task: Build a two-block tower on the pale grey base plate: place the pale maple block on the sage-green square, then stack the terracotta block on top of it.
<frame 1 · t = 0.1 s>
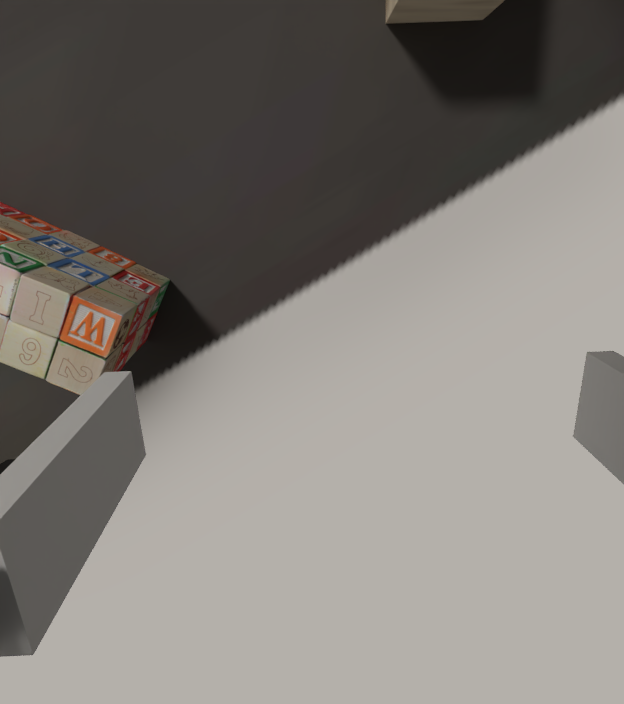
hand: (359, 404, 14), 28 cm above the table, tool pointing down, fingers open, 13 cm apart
stack of blocks: (38, 255, 40), on the table
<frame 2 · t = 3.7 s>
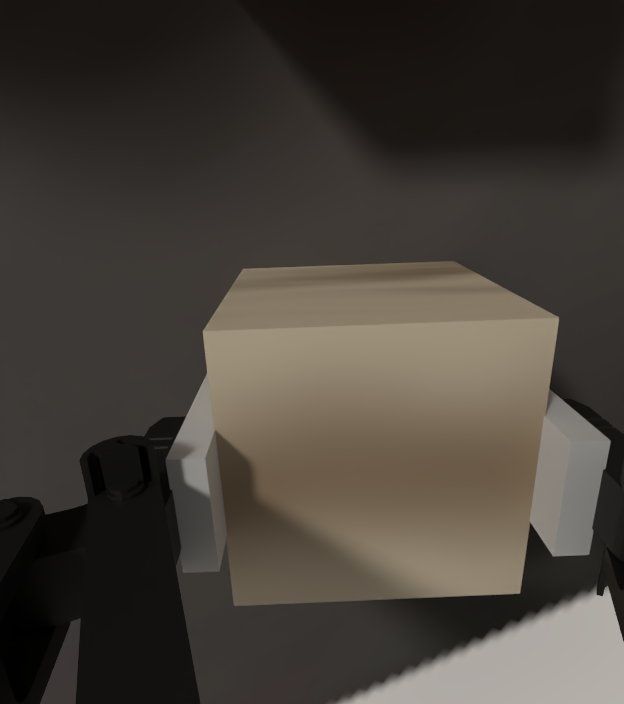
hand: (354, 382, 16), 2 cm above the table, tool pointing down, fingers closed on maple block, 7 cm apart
maple block: (349, 363, 17), on the table, touching gripper
when the fingers open (5 cm above the table, at t = 10.8 s): maple block drops 1 cm, resting on base plate.
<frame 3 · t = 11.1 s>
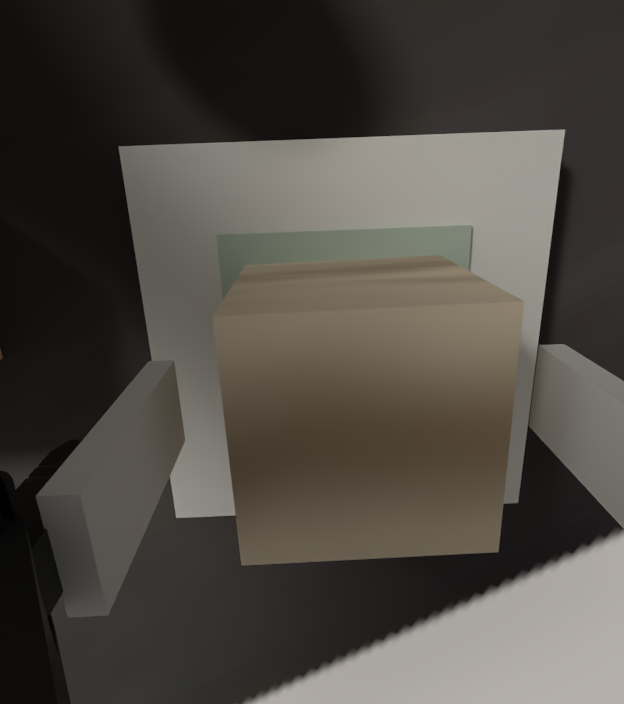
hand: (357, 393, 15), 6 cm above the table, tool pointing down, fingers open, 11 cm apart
base plate: (341, 333, 21), on the table
maple block: (345, 351, 19), point 2 cm above the table, touching base plate
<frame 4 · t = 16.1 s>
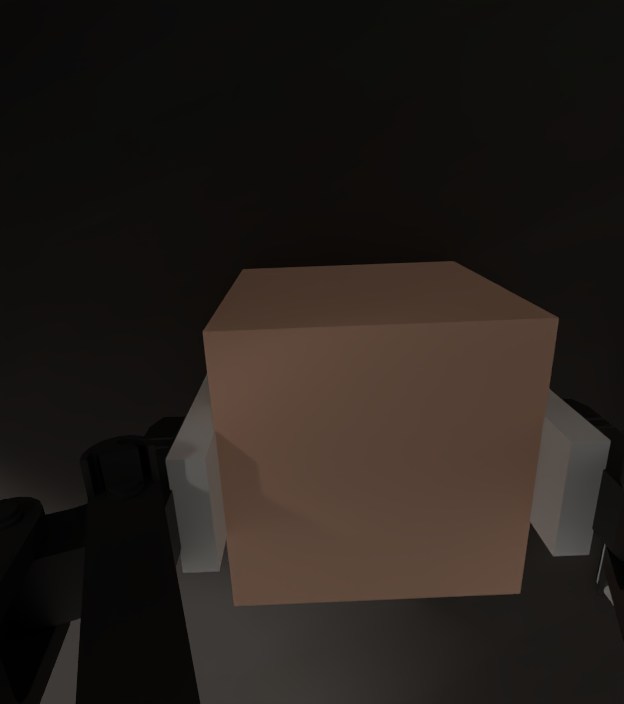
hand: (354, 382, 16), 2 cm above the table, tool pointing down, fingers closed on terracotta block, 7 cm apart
terracotta block: (349, 363, 17), on the table, touching gripper
when the fingers open (12 cm above the table, at t = 22.8 s): terracotta block drops 1 cm, resting on maple block.
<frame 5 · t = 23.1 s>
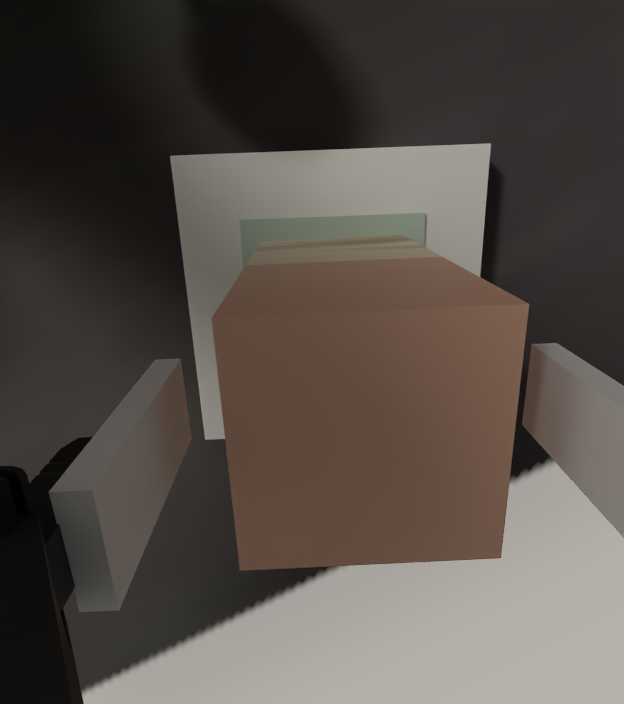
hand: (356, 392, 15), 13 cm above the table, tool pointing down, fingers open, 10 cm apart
base plate: (331, 297, 27), on the table
terracotta block: (345, 353, 18), point 9 cm above the table, touching maple block
maple block: (333, 307, 25), point 2 cm above the table, touching base plate, terracotta block
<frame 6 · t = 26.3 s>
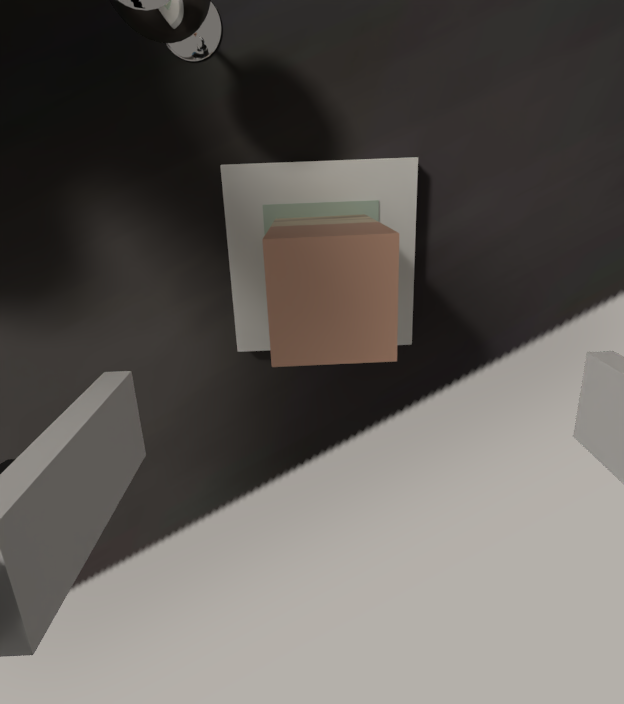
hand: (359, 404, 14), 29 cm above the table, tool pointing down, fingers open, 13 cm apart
wineglass: (191, 27, 36), on the table
base plate: (321, 256, 41), on the table
terracotta block: (326, 278, 33), point 9 cm above the table, touching maple block
maple block: (322, 261, 39), point 2 cm above the table, touching base plate, terracotta block
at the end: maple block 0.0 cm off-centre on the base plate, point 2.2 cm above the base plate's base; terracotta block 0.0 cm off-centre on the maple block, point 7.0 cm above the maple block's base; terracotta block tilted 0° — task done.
